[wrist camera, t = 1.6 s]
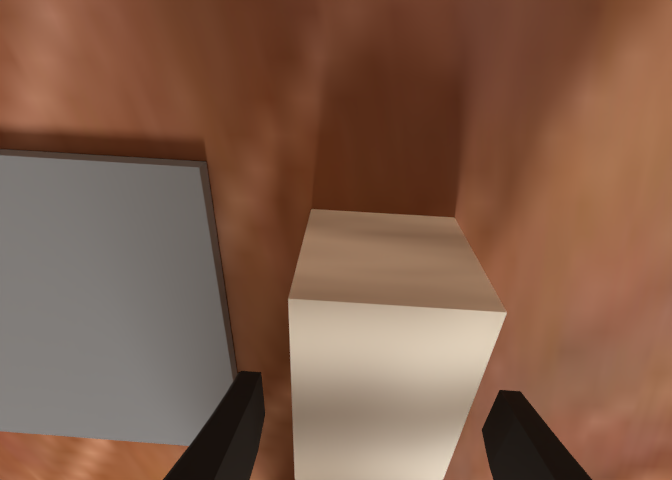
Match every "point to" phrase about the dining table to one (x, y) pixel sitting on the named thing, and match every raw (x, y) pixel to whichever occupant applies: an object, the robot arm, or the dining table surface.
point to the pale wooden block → (385, 344)
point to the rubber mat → (110, 298)
